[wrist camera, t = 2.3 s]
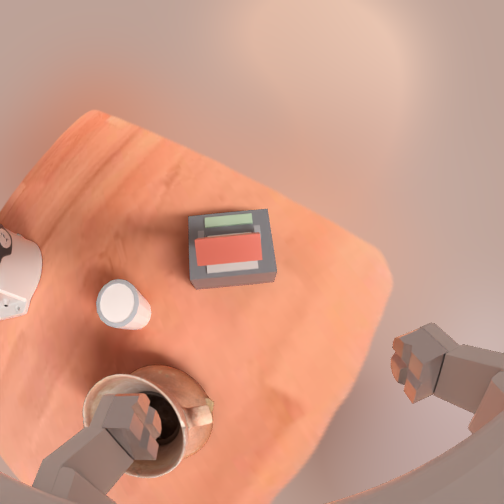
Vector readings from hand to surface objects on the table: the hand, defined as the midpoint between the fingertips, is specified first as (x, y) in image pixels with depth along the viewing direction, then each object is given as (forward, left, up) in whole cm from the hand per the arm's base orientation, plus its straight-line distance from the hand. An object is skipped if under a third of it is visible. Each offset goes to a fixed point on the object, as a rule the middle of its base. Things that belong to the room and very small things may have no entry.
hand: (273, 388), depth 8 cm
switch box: (+5, +17, -33) cm, 37 cm away
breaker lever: (+5, +17, -27) cm, 32 cm away
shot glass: (-13, +15, -33) cm, 39 cm away
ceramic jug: (-15, -1, -33) cm, 36 cm away
